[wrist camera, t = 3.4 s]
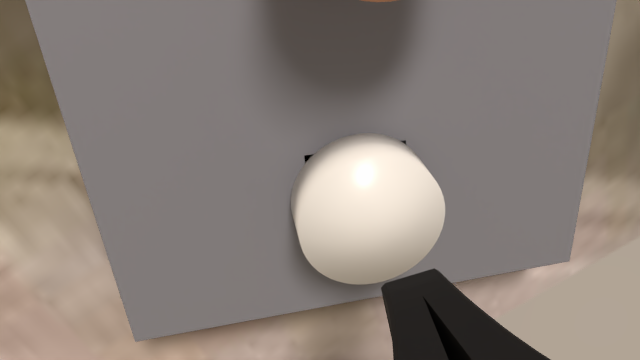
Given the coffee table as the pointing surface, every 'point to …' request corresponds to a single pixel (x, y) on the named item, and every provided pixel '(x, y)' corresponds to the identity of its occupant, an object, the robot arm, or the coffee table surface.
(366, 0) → the terracotta button
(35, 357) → the coffee table surface
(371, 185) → the white rounded piece
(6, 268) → the coffee table surface
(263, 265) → the button panel
